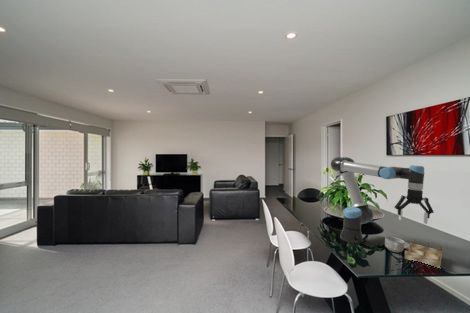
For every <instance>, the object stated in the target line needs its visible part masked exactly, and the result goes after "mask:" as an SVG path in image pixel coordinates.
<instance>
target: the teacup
mask: <svg viewBox="0 0 470 313" xmlns="http://www.w3.org/2000/svg"><path fill="white" fill-rule="evenodd" d="M405 242H406V241H405V240H403V239H401V238H398V237H395V236H389V235H385V236H384V246H385V248H386V249H387V250H388V251H390V252H393V253H397V254H398V253H402V252H403V251H405V250H404V249H405V248H404V245H405Z"/></svg>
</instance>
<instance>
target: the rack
mask: <svg viewBox="0 0 470 313" xmlns="http://www.w3.org/2000/svg"><path fill="white" fill-rule="evenodd" d="M416 241H417V240H416V239H415V238H413V241H412V242H408V243H409V248H408V249H407V250H404V260H409V261H411V260H413V261H412V262H414V261H418V262H422V263H425V264H428V265H431V266H434V267H433V268H435V267H437V268H436V269H438V268H440V269H441V267H440V266H442V261H441V260H442V259H443V246H442V245H439V249H436V248H432V247H429V242H426V245H421V244H418V243H417V244H416ZM418 262H417V263H418ZM428 265H427V266H428ZM431 266H430V267H431Z"/></svg>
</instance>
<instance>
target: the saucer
mask: <svg viewBox="0 0 470 313" xmlns="http://www.w3.org/2000/svg"><path fill="white" fill-rule="evenodd" d="M409 243H410V242H407V241H405V245H404V249H409Z"/></svg>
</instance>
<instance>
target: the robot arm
mask: <svg viewBox="0 0 470 313" xmlns="http://www.w3.org/2000/svg"><path fill="white" fill-rule="evenodd" d="M330 167H331V169H332V170H333V171H335V172H339V174H340V176H342V178H343V180H344V181H343V182H344V185H345V187H346V190H347V193H348V195H349V199H350V201H351V204H352V205H351V207H349V206H347V207H345V208H344V209H343V224H342V226H343V227H342V230H341V232H340V240H342V241H343V242H346V243H350V244H357V245H358V244H362V243H363V242H364V236H363V233H362V225H364V224H369V223H370V222H372V221H373V219H374V216H375V215H374V212H373V210H372V209H370V208H369V206H368V204H367V203H366V202H365V201H364V198H363V196H362V192H361V190H360V186H359V185H358V181H357V178H356V175H355V173H356V174H361V175H366V176H373V177H378V178H382V179H384V180H394V179H400V180H401V179H403V180H407V182H408V183H407V188H408V189H407V195H401V196H400V199H399V201H397V203H396V204H395V205H394V209H395V210H397V215H398V220H399V221H403V209H405V208H406V207H407V206H408V205H409V204H416V205H419V206H420V207H421V208H422V209H423V210H424V214H423V223H424V224H428V219H430V216H431V214H434V210H433V208H432V206H431V204H430V202H429V198H428V197H425V196H424V197H423V193H424V191H423V190H424V179H425V166H422V165H409V167H400V166H398V167H397V166H389V167H387V166H383V165H375V164H374V165H373V164H367V163H361V162H355V160H354V159H352V158H351V157H347V156H346V157H344V156H343V157H342V156H341V157H334V158H332V160H331V162H330ZM405 200H406V201H405ZM404 201H405V202H404ZM423 202H424V203H425V205H426V206H425V205H424V203H423Z"/></svg>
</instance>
